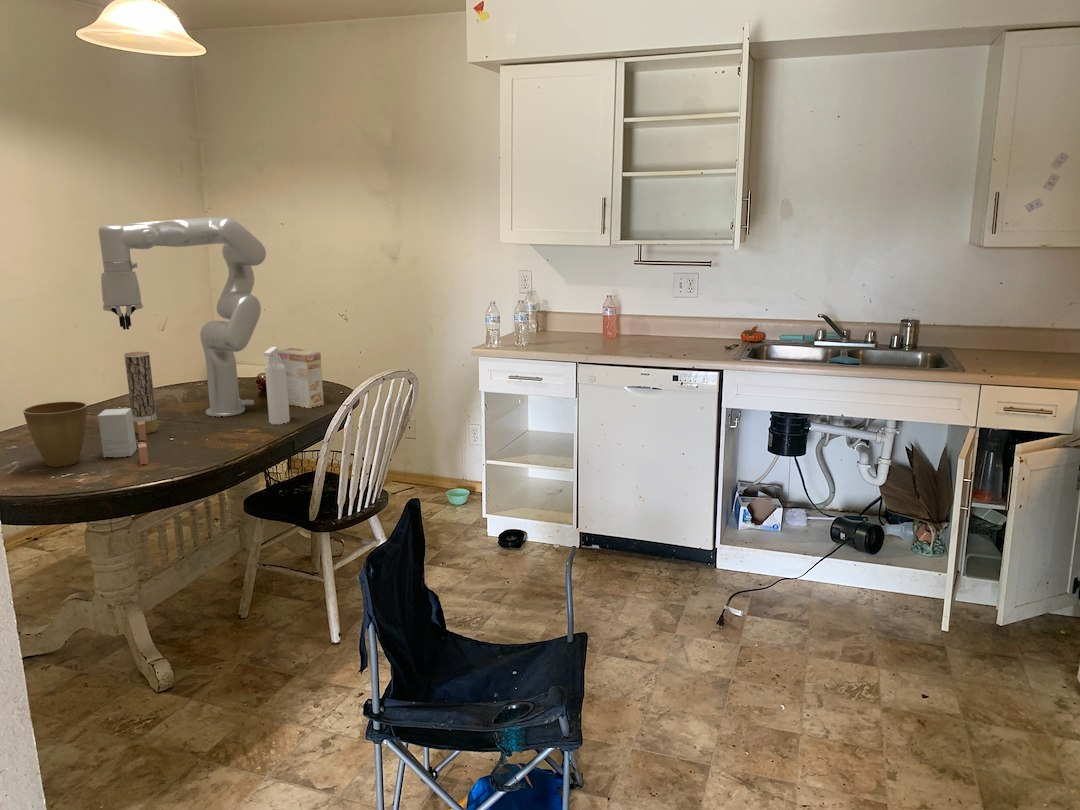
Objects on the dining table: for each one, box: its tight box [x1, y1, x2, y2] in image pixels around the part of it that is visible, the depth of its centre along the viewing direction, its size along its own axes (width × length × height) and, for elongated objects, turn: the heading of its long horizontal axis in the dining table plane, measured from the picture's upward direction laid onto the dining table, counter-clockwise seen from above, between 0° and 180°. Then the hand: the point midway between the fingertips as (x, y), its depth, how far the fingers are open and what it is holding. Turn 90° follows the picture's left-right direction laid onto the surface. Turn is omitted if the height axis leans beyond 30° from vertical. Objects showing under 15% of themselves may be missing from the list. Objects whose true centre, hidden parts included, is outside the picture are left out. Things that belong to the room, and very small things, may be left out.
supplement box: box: [96, 407, 138, 459], centre depth 229 cm, size 7×7×13 cm
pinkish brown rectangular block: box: [137, 421, 149, 466], centre depth 233 cm, size 2×30×5 cm, turn 27°
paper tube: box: [124, 351, 159, 435], centre depth 250 cm, size 7×7×25 cm
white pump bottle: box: [263, 346, 291, 425], centre depth 263 cm, size 7×12×25 cm, turn 175°
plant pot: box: [22, 401, 88, 468], centre depth 220 cm, size 15×15×16 cm
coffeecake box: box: [277, 347, 325, 409], centre depth 286 cm, size 15×7×20 cm, turn 58°
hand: (126, 328), depth 243 cm, fingers closed
